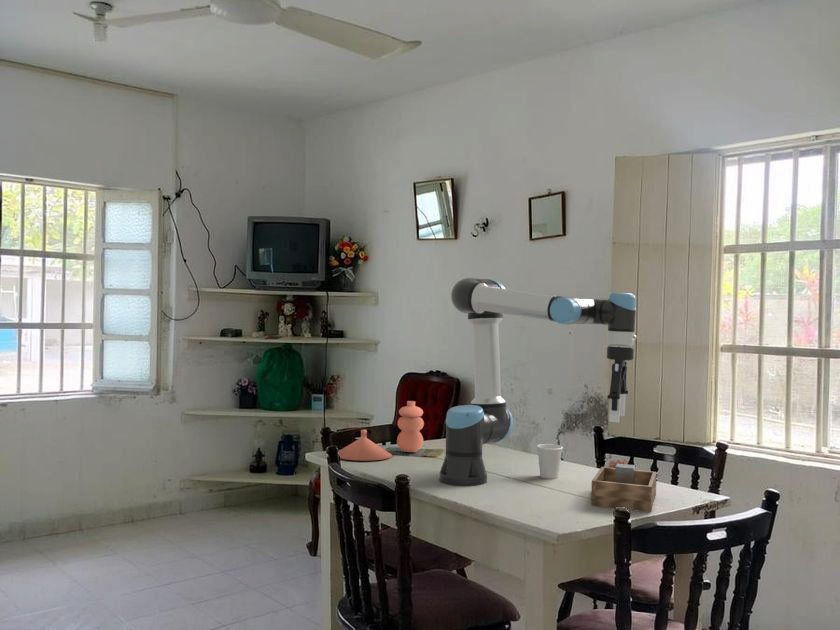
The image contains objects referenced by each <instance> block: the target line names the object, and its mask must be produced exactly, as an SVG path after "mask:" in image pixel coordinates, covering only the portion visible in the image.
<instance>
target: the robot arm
mask: <svg viewBox="0 0 840 630" xmlns="http://www.w3.org/2000/svg"><path fill="white" fill-rule="evenodd" d="M452 287H453V288H452V290H451V292H450V293H451V294H450V298H451V302H452V305H453V307H454V308H455V309H456V310H457V311H459V312H460V313H463V314H466V315H467V321H468V322H470V324H471V326H472V339H473V341H472V344H473V346H472V347H473V369H474V370H473V372H474V398H473V399H472V400H471V402H470V404H463V405H457V406H453V407H451V408H449V409H448V410H447V412H446V419H445V456H444V459H443V461H442V465H441V467H440V471H439V477H438V478H439V482H440V483H443V484H446V485H450V486H451V485H452V486H458V487H475V486H477V487H478V486H481V485H485V484H486V483H488V472H487V470H486V467H485V463H484V460H483V445H485V444H486V445H487V444H490V443H492V444H493V443H494V444H495V443H499V442H500V441H502V440H505V439H506V438H508V436H509V435H510V434H511V432H512V430H513V428H514V427H513V426H514V418H513V414H512V413H511V412H510V410H509V408H507V401H506V400H505V399H504V398H503V397H502V387H501V384H502V383H501V363H500V362H501V361H500V359H501V358H500V357H501V356H500V330H499V329H500V328H499V325H500V323H501V322H502V321H504V315H509V316H517V317H522V318H528V319H529V318H530V319H536V320H537V319H538V320H543V321H548V322H555V323H558V324H561V325H575V324H576V325H604V326H607V337H606V339H607V340H606V344H607V345H608V346H607V347H606V358H607V359H608V360H611V361H612V360H613V361H614V363H612V365H611V376H610V377H611V379H610V388H609V389H610V390H609V394H608V395H607V399H609V418H608V422H611V423H620V417H625V415H626V414H625V413H626V398H627V397H626V395H629V390H627V389H628V388H627V372H628V366H627V365H628V363H627V361H633V360H634V352H635V351H634V348H633V347H632V346H634V345H635V340H636V339H637V335H635V327H636V325H635V324H636V311H637V308H636V307H637V305H636V304H637V303H636V301H637V300H636V296H635V295H634V294H633V293H629V292H627V293H626V292H623V293H622V292H611V293H610V294H609V297H608V298H607V299H602V298H601V299H599V298H582V297H581V298H579V297H578V298H577V297H568V296H561V295H560V296H559V295H553V294H544V293H537V292H530V291H529V292H528V291H523V290H522V291H520V290H516V289H515V290H514V289H507V288H506V287H505V286H504V285H503V284H502V283H501V282H499V281H497V280H493V279H491V278H489V279H487V278H475V277H474V278H473V277H466V278H463V279H460V280H458V281H457V282H456V283H455V284H454V285H453V286H452Z"/></svg>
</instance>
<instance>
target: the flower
mask: <svg viewBox="0 0 840 630" xmlns="http://www.w3.org/2000/svg"><path fill="white" fill-rule="evenodd" d="M617 464H627V465H628V461H627V459H622V460H620V459H617V460H612V461H609V462H608V465H607V466H606V467H609V468H615V467H616V465H617Z"/></svg>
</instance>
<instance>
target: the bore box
mask: <svg viewBox="0 0 840 630" xmlns="http://www.w3.org/2000/svg"><path fill="white" fill-rule="evenodd" d="M657 474H658V473H657V471H647V470H639V469H635V484H625V483H616V482H615V468H609V467H607V466H601V467H600V469H599V470H598V471H597V473H596V474H595V475H594V477H593V478H592V479H591V488H590V489H591V492H590V493H591V494H590V495H591V498H590V506H591V507H601V508H608V507H610V508H609V509H617V508H616V507H625V508H627V509H631V510H630V511H636V510H638V511H639V512H646V511H648V512H647V513H649V512H650V513H651V512H652V511H653V507H654V504H655V500H656V497H655V496H657V478H658V477H657ZM653 503H654V504H653ZM627 509H626V510H627ZM651 510H652V511H651Z"/></svg>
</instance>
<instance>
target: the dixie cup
mask: <svg viewBox="0 0 840 630" xmlns="http://www.w3.org/2000/svg"><path fill="white" fill-rule="evenodd" d="M536 447H537V455H538V465H539V466H538V468H539V477H540V478H542V479H549V480H551V479H553V480H554V479H558V478H559V472H560V465H561V459H562V458H561V457H562V451H563V449H564V447H563V446H562V445H560V444H559V445H558V444H554V443H540V444H537V445H536Z"/></svg>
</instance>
